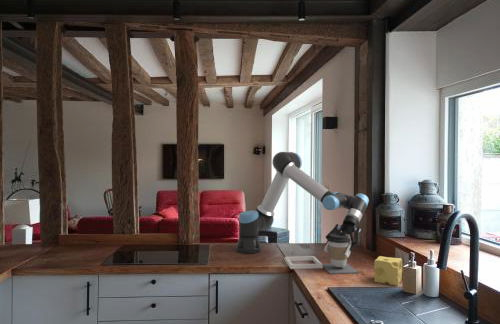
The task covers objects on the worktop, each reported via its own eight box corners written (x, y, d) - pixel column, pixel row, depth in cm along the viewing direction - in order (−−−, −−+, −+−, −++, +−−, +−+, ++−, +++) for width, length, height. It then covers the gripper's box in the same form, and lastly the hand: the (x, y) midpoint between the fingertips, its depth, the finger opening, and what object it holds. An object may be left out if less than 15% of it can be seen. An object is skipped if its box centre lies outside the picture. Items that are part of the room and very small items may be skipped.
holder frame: (284, 260, 202) (284, 256, 202) (314, 259, 204) (314, 256, 204) (290, 268, 186) (290, 264, 186) (322, 268, 188) (322, 264, 188)
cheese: (398, 286, 161) (398, 263, 161) (372, 282, 166) (372, 259, 166) (402, 280, 169) (402, 258, 169) (378, 276, 175) (378, 255, 175)
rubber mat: (320, 264, 194) (320, 263, 194) (346, 264, 195) (346, 263, 195) (330, 274, 178) (330, 272, 178) (358, 273, 179) (358, 272, 179)
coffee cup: (354, 264, 187) (354, 235, 187) (343, 269, 178) (343, 238, 178) (333, 260, 194) (334, 232, 194) (322, 265, 186) (323, 235, 186)
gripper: (376, 226, 189) (360, 262, 178) (335, 221, 206) (319, 253, 195) (370, 217, 185) (354, 253, 174) (330, 212, 202) (313, 245, 191)
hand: (335, 253), depth 185 cm, fingers closed on coffee cup, 11 cm apart
